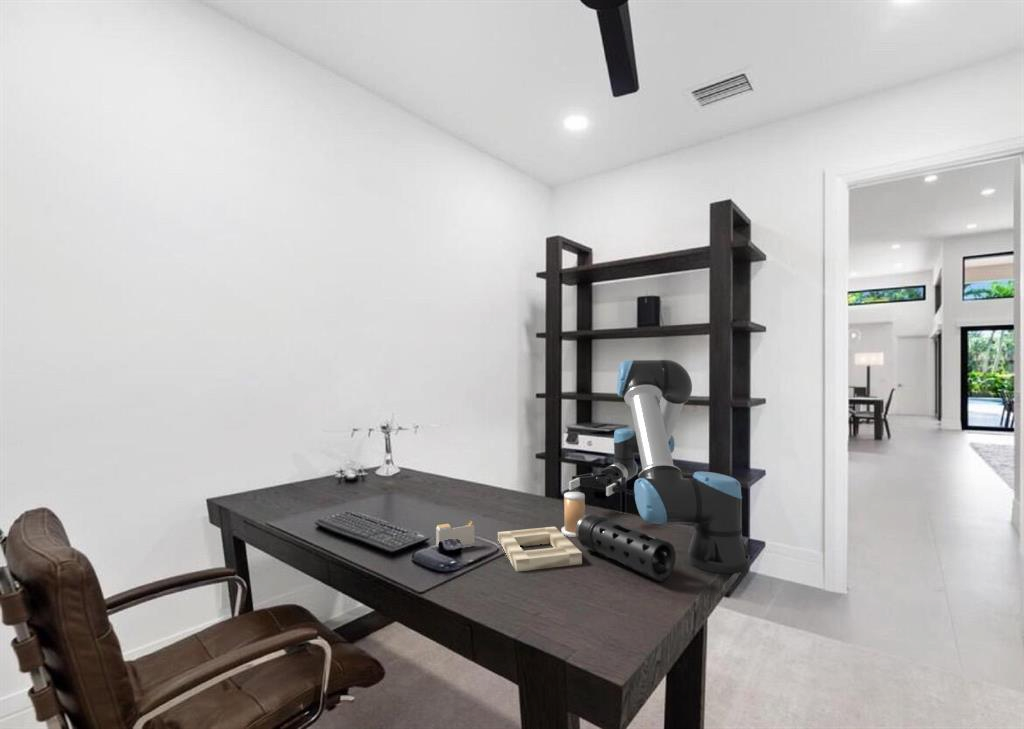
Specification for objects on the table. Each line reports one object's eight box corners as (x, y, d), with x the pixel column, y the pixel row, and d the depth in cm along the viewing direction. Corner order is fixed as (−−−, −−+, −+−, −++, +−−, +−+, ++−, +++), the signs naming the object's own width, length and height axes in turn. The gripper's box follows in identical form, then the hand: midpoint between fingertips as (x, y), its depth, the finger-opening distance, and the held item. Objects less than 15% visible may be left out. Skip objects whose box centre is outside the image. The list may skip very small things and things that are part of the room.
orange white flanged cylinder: (592, 536, 153) (592, 496, 153) (567, 539, 151) (566, 498, 151) (582, 527, 161) (581, 490, 161) (557, 530, 159) (557, 492, 159)
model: (436, 550, 144) (435, 524, 144) (471, 544, 148) (470, 518, 148) (439, 554, 141) (438, 527, 141) (474, 548, 145) (474, 522, 145)
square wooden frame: (581, 563, 132) (581, 552, 132) (516, 571, 127) (516, 560, 127) (554, 536, 153) (554, 526, 153) (497, 542, 149) (497, 532, 149)
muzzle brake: (650, 589, 117) (650, 545, 117) (573, 552, 140) (572, 515, 140) (677, 579, 122) (676, 537, 122) (598, 545, 146) (597, 510, 146)
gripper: (647, 490, 175) (623, 506, 157) (583, 481, 189) (555, 494, 171) (647, 469, 174) (623, 482, 157) (583, 461, 189) (555, 472, 171)
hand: (588, 488), depth 164 cm, fingers open, 13 cm apart
